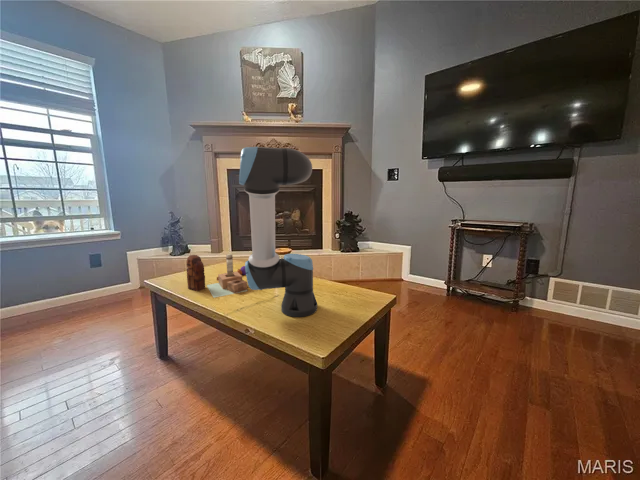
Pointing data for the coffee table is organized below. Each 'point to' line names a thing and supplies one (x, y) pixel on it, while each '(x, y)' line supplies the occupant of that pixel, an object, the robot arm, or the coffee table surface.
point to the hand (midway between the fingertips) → (261, 235)
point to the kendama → (240, 271)
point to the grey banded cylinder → (229, 265)
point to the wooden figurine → (195, 273)
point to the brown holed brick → (237, 285)
